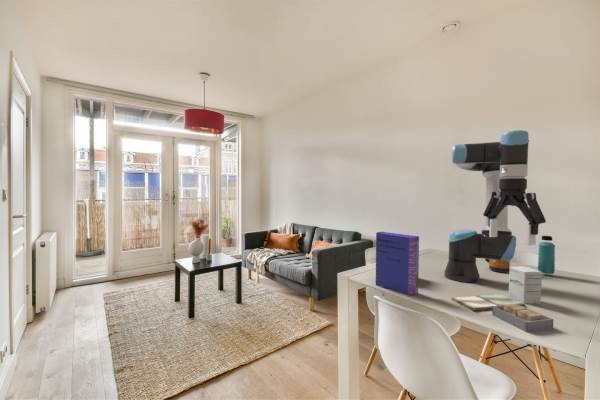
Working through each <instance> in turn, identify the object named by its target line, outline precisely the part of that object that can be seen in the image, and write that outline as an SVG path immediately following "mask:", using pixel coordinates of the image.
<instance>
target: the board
mask: <svg viewBox="0 0 600 400" xmlns="http://www.w3.org/2000/svg"><path fill="white" fill-rule="evenodd" d="M451 301H453V302H455V303H457V304H458V305H461V306H463V307H464V308H467V309H468V310H470V311H472V312H474V313H475V312H485V311H492V307H493V306H501V305H504V304H518V305H520V306H523V307H525V308H526V303H525V304H524V303H521V302H519V301H517V300H515V299H513V298H511V297H508V296H505V295H502V294H500V293H494V294H481V295H471V296H470V295H469V296H460V297H459V296H457V297H451Z"/></svg>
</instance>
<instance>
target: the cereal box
mask: <svg viewBox="0 0 600 400" xmlns="http://www.w3.org/2000/svg"><path fill="white" fill-rule="evenodd" d="M375 234H376V235H375V238H376V239H375V286H378V287H380V286H381V287H380V288H384V289H387V290H391V291H395V292H397V293H398V292H399V293H401V294H405V295H409V296H411V297H414V296H415V295H417V294H419V267H420V266H419V262H420V261H419V260H420V256H419V255H420V236H419V235H410V234H403V233H401V234H400V233H397V232H396V233H395V232H388V231H387V232H385V231H377V232H376V233H375Z"/></svg>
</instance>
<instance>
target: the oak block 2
mask: <svg viewBox="0 0 600 400" xmlns="http://www.w3.org/2000/svg"><path fill="white" fill-rule="evenodd" d="M530 310H531V309H530ZM530 310H519V311H518V318H520V319H522V320H525V321H535V320H541V315H540V314H541V313H539V314H537V313H538V312H537V313H535V312H536V311H535V312H533V311H534V310H532V311H530Z"/></svg>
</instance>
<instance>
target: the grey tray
mask: <svg viewBox="0 0 600 400" xmlns="http://www.w3.org/2000/svg"><path fill="white" fill-rule="evenodd" d="M516 305H518V304H516ZM518 306H520V305H518ZM521 307H523V306H521ZM523 308H525V310H530V311H533V312H535V313H537V314H540V315H541V320H535V321H525V320H522V319H520V318H518V317H516V316H514V315H512V314H509V313H507V312H505V311H504V305H501V306H493V307H492V310H491V311H492V316H493V317H495V318H497V319H499V320H501V321H504V322H505V323H507V324H509V325H511V326H513V327H515V328H517V329H519V330H521V331H523V332H525V333H531V332H540V331H541V332H542V331H548V330H554V318H551V317H550V316H549V317H548V316H547V315H544V314H543V313H542V314H541V313H539V312H536V311H535V310H532V309H530V308H528V307H526V306H525V307H523Z"/></svg>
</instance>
